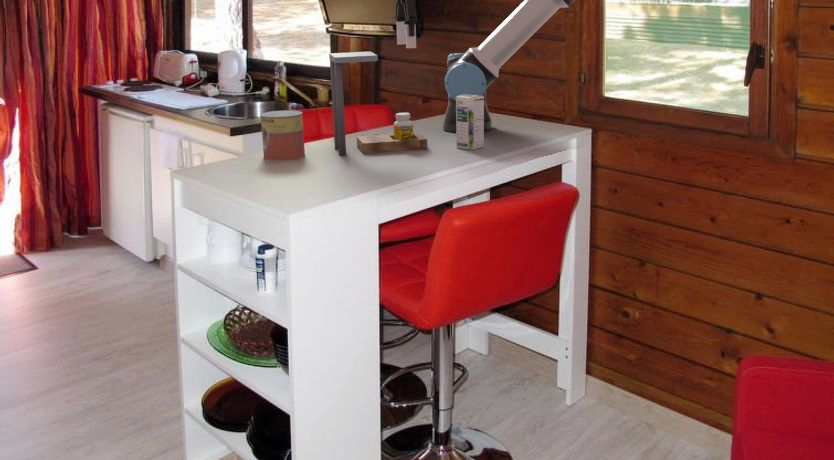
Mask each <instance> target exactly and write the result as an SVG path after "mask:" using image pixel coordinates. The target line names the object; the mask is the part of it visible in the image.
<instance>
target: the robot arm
mask: <svg viewBox="0 0 834 460" xmlns="http://www.w3.org/2000/svg"><path fill="white" fill-rule="evenodd" d="M575 1H576V0H523V1H522V2H521V3H520V4H519V6H517V7H516V8H515V9H514V10H513V11H512V12H511V13H510V15H508V17H507V18H505V20H503V21H502V23H501V24H499V25H498V27H496V28H495V30H493V32H491V34H490V35H489V36H488V37H487V38H486V39H485V40H484V41H483V42H482V43H480V45H479V46H477V47H469V48H468V49H467V50H466V51H465V52H463V53H462V52H459V53H450V54H449V55H447V61H446V66H447V72H446V73H445V76H444V87H445V90H446V92H447V100H448V102H447V103H448V104H447V107H446V111H445V114H444V118H443V121H442V129H443V131H446V132H451V133H456V97H457V96H459V95H477V96H484V132H485V131H490V130H492V129H493V121H492V117H491V115H490V111H489V108H488V105H487V89H488V87H489V86H491V84H492V83H494V81H496V80H497V79H498V78H499V71H500V69H501V67H502V66H503V65H505V63H506V62H507V61H508V60H509V59H510V58H511V57H512V56H513V55H514V54H515V53H516V52H517V51H518V50H520V48H521V47H523V45H525V44H526V42H528V40H530V38H531V37H533V35H534V34H535V33H537V32H538V31H539V29H540V28H541V27H543V25H544V24H545V23H546V22H547V21H548V20H550V18H551V17H553V15H554V14H555V13H556V12H558V10H559V9H561V8H563V9H564V8H565V9H566V8H569V7H570V6H571V5H572V4H573V3H574V2H575ZM394 10H395V12H394V19H395V21H396V41H397V43H396V44H397V46H398V45H406V49H417V31H416V30H417V28H416V27H417V25H416V24H417V23H418V16H417V8H416V0H395V9H394Z"/></svg>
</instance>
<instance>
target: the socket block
mask: <svg viewBox="0 0 834 460" xmlns="http://www.w3.org/2000/svg"><path fill="white" fill-rule="evenodd" d="M356 146H357V148H358V150H359V151H360V152H361V153H362V155H374V154H385V153H397V152H398V153H400V152H401V153H402V152H417V151H428V139H427V138H426V137H425V136H424V135H423V134H421V133H420V132H413V139H401V140H394V133H390V134H374V135H361V136H360V135H359V136H356Z"/></svg>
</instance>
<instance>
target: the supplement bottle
mask: <svg viewBox="0 0 834 460" xmlns="http://www.w3.org/2000/svg"><path fill="white" fill-rule="evenodd" d="M410 119H411V113H409V112H398V113H396V114H395V120H396V121H394V123H393V134H394V140H401V139H413V133H414V124H413V121H412V120H410Z"/></svg>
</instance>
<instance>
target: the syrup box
mask: <svg viewBox="0 0 834 460" xmlns="http://www.w3.org/2000/svg"><path fill="white" fill-rule="evenodd" d="M455 134H456V136H455V137H456V138H455V139H456V140H455V142H456V144H455V147H456V149H463V150H468V151H469V150H470V151H473V150H477V149H481V148H484V146H485V144H484V143H485V142H484V141H485V140H484V138H485V136H484V134H485V131H484V96H477V95H459V96H457V97H456V132H455Z"/></svg>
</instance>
